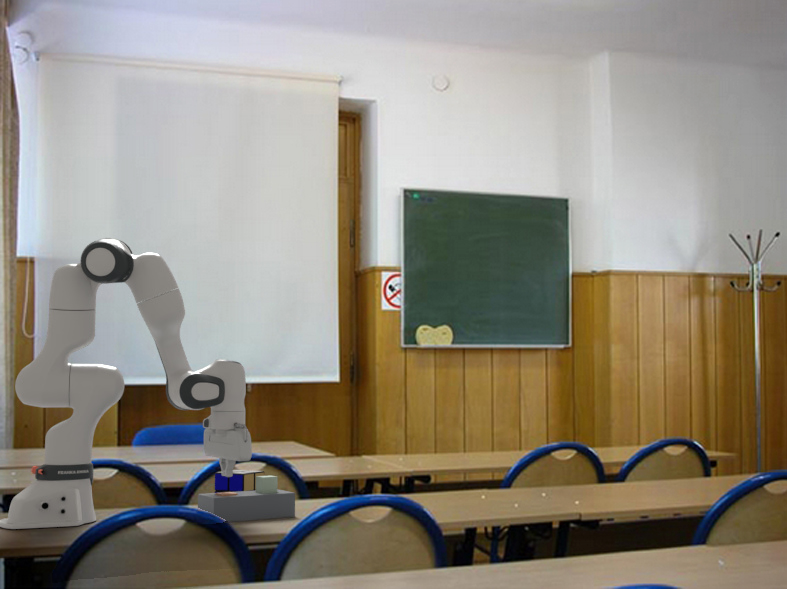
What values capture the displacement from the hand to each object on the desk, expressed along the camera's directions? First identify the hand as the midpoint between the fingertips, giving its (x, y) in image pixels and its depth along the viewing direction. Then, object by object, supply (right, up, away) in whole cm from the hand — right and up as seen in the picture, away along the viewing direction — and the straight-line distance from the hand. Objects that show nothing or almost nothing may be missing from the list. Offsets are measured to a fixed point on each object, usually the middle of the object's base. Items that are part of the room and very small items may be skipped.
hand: (227, 476), depth 239 cm
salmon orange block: (+1, -9, -5) cm, 10 cm away
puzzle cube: (0, -12, +17) cm, 21 cm away
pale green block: (+10, -6, +2) cm, 12 cm away
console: (+5, -10, -2) cm, 12 cm away
